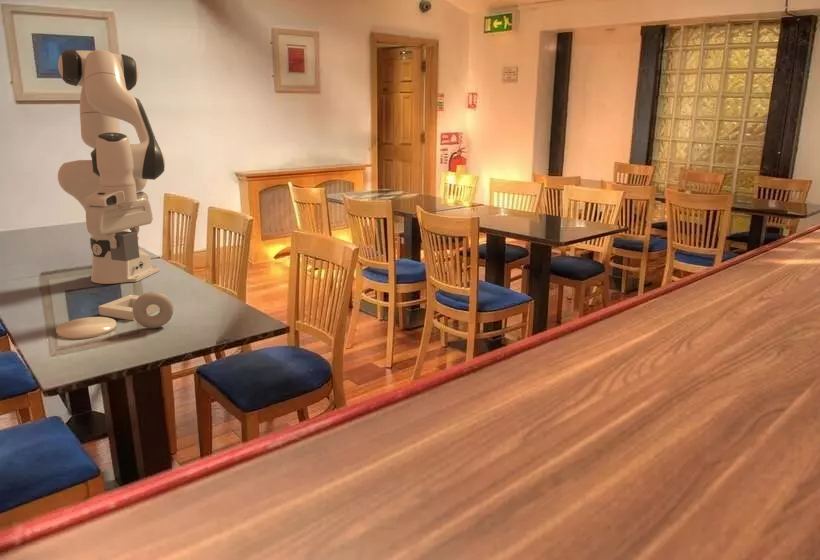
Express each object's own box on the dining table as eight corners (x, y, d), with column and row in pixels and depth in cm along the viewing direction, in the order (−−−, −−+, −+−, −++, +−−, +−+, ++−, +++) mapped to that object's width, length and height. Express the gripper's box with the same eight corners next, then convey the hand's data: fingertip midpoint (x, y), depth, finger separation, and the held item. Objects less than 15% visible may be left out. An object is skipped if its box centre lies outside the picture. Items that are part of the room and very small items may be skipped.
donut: (134, 332, 164) (130, 295, 161) (134, 328, 167) (130, 291, 164) (175, 327, 168) (172, 291, 165) (174, 323, 171) (171, 288, 168)
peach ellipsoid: (88, 317, 174) (87, 314, 174) (128, 324, 169) (128, 320, 169) (43, 334, 161) (43, 330, 161) (85, 342, 157) (85, 338, 157)
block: (125, 255, 178) (122, 231, 176) (139, 257, 176) (137, 232, 175) (111, 259, 174) (108, 234, 172) (126, 261, 172) (123, 236, 170)
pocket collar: (131, 302, 187) (130, 294, 187) (164, 307, 183) (163, 299, 183) (99, 314, 176) (98, 306, 176) (133, 320, 172) (132, 311, 172)
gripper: (137, 189, 181) (142, 237, 184) (79, 199, 162) (85, 252, 166) (155, 191, 179) (160, 239, 182) (98, 201, 160) (104, 254, 164)
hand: (124, 245), depth 174 cm, fingers closed on block, 5 cm apart
